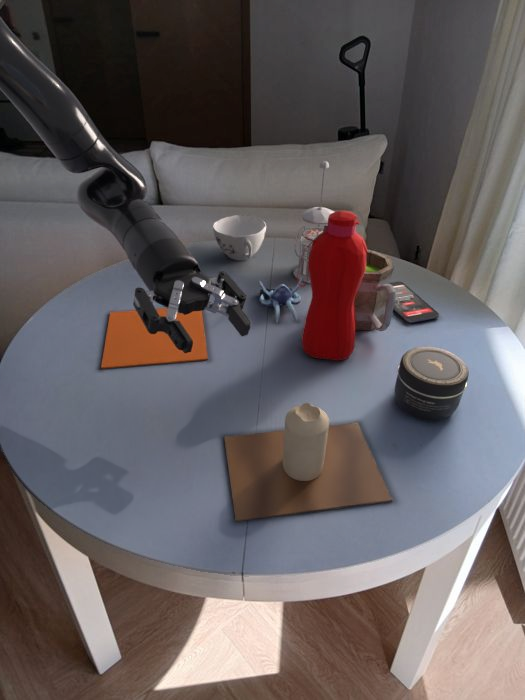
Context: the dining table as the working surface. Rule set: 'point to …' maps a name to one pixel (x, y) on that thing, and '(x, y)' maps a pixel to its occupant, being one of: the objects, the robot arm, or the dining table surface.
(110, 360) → the towel
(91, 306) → the dining table surface
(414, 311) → the smartphone
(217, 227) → the teacup
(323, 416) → the candle
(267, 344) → the dining table surface
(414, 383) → the jar
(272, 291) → the figurine
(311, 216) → the french press
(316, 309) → the water bottle
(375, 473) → the brown flat board
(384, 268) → the mug
